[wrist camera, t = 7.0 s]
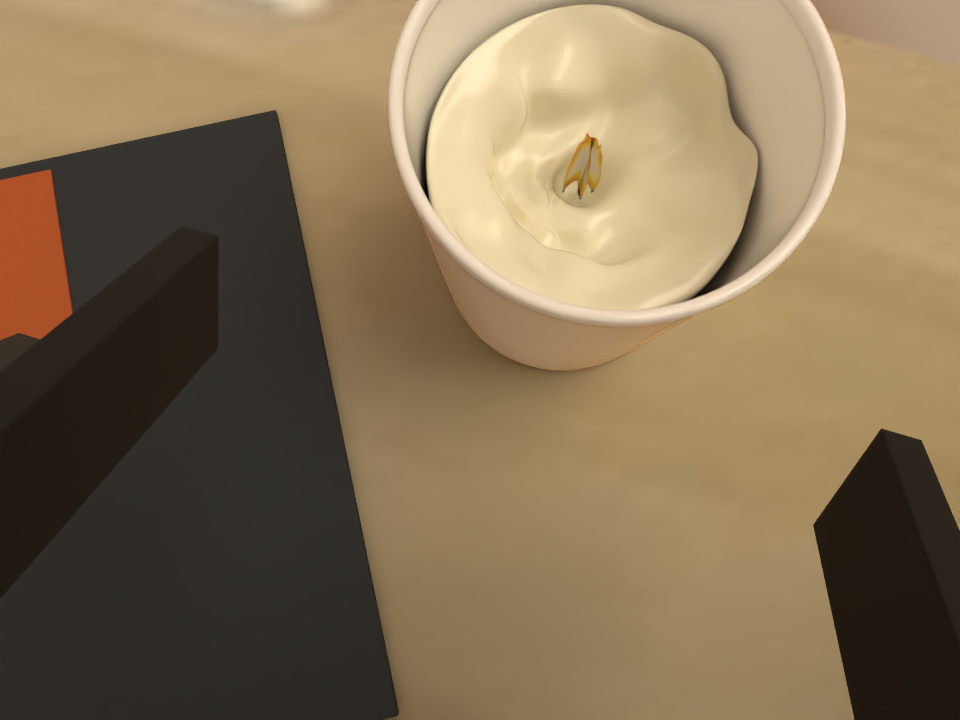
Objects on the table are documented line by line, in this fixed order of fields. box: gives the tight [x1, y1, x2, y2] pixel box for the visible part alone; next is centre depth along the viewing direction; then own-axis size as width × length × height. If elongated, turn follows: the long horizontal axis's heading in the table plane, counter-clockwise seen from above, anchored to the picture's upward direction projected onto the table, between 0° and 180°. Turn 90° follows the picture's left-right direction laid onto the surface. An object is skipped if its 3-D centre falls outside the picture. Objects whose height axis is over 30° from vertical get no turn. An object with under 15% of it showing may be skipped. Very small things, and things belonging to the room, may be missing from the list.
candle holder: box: [388, 0, 846, 371], centre depth 22 cm, size 10×10×12 cm
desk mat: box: [0, 110, 399, 720], centre depth 27 cm, size 20×22×1 cm
